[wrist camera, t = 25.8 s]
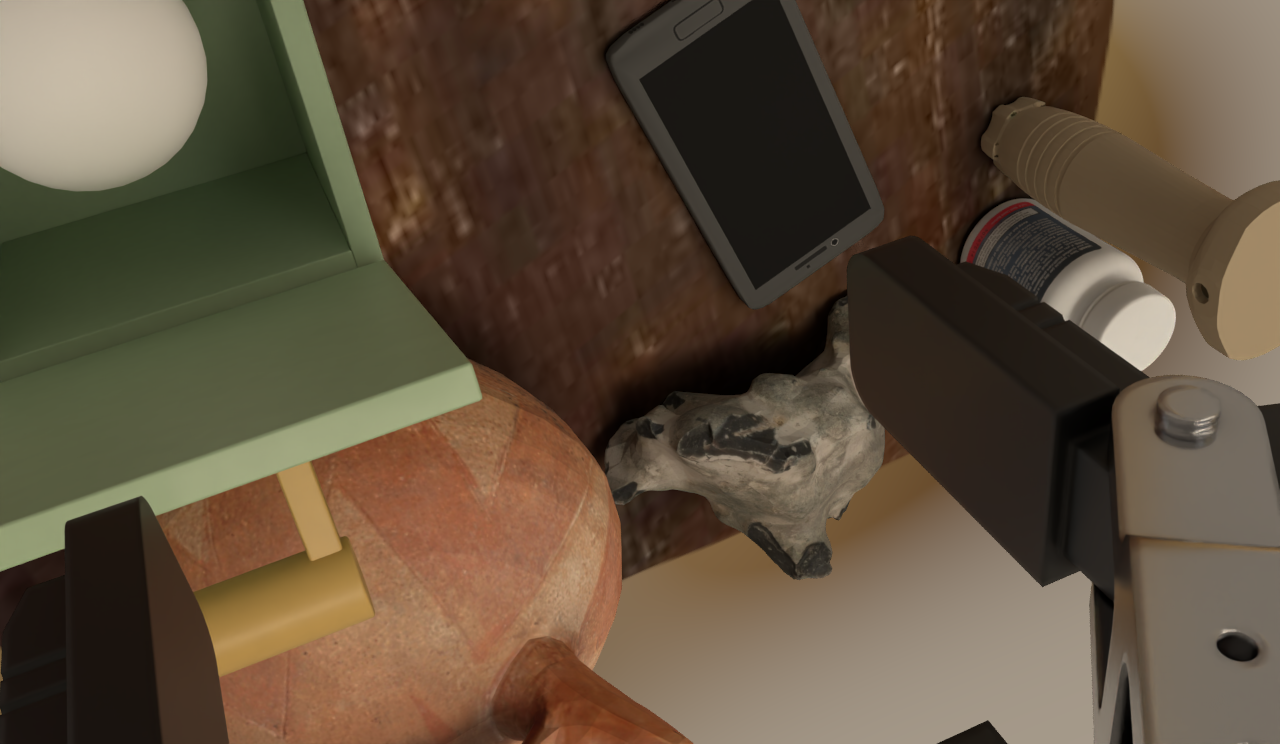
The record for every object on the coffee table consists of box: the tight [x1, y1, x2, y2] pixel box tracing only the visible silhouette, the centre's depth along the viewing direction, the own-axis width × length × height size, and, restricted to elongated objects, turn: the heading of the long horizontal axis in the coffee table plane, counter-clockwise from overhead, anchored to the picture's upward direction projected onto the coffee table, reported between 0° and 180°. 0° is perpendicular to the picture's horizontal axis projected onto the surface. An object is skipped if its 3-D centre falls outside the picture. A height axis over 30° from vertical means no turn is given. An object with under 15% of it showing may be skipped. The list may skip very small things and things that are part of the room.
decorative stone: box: [605, 295, 885, 580], centre depth 52 cm, size 16×9×10 cm, turn 107°
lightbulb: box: [0, 0, 208, 192], centre depth 32 cm, size 6×6×11 cm
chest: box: [0, 0, 384, 383], centre depth 34 cm, size 13×12×9 cm
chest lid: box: [0, 260, 482, 677], centre depth 29 cm, size 14×12×5 cm
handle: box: [981, 97, 1280, 360], centre depth 48 cm, size 5×6×15 cm
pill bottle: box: [960, 198, 1176, 371], centre depth 54 cm, size 5×5×9 cm
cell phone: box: [606, 0, 884, 309], centre depth 48 cm, size 7×14×1 cm, turn 28°
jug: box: [156, 358, 693, 744], centre depth 41 cm, size 18×18×20 cm
